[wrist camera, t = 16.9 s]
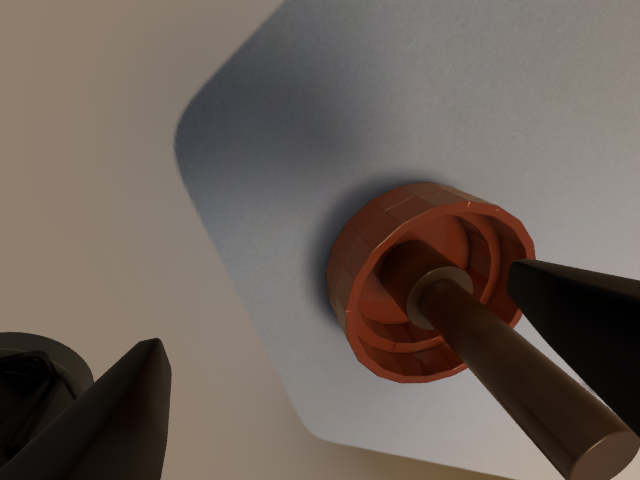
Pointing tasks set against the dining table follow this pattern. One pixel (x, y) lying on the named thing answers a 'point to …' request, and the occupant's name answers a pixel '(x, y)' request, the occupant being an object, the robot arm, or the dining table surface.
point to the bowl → (445, 236)
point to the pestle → (510, 366)
